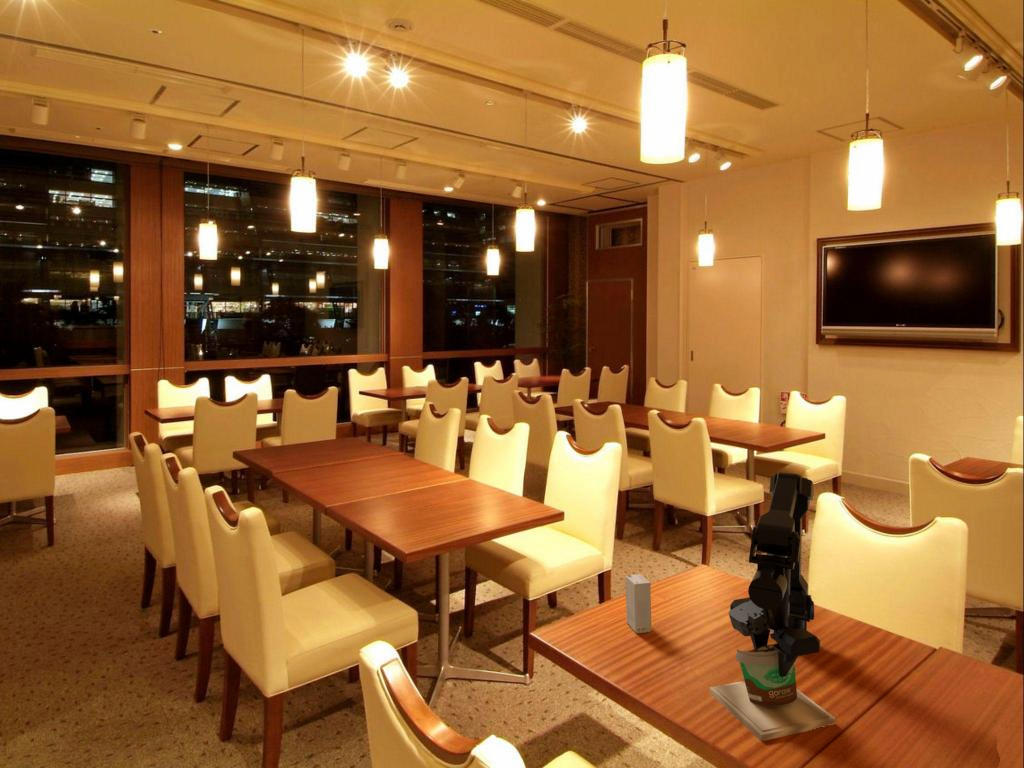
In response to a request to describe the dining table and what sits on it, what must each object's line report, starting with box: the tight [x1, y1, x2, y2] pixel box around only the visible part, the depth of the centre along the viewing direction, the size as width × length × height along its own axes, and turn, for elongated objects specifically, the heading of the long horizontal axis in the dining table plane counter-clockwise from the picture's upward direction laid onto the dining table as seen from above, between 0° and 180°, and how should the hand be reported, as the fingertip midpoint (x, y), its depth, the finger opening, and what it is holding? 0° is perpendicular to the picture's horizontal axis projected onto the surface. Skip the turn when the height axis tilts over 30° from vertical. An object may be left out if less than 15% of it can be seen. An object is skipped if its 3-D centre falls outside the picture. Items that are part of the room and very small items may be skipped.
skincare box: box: [625, 573, 652, 634], centre depth 161 cm, size 6×4×12 cm
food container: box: [735, 642, 797, 706], centre depth 127 cm, size 12×6×10 cm, turn 107°
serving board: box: [709, 680, 837, 742], centre depth 128 cm, size 16×16×2 cm
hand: (771, 667), depth 127 cm, fingers closed on food container, 6 cm apart
